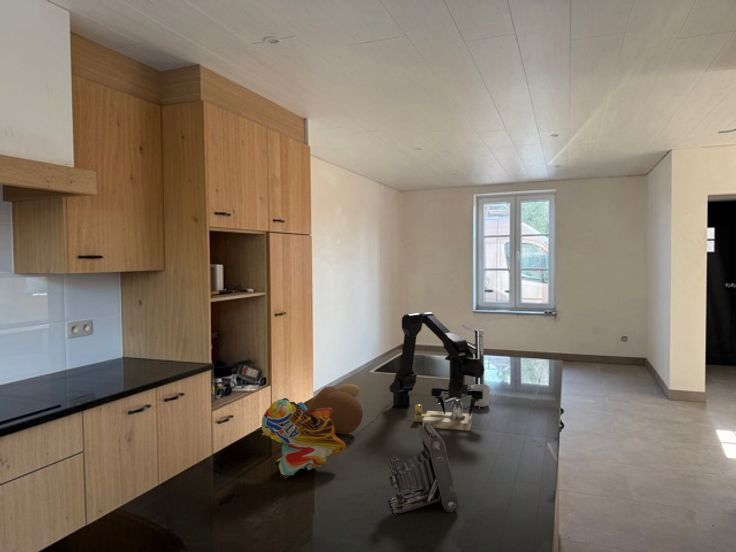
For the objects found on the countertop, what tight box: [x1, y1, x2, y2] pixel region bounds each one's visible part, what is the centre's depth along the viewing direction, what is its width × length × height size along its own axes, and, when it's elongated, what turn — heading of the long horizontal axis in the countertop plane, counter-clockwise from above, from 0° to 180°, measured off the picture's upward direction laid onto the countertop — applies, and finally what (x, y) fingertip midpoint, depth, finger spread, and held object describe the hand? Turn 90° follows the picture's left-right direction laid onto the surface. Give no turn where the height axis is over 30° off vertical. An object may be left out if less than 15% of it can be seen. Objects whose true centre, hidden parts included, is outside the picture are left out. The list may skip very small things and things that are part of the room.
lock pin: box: [413, 403, 431, 423], centre depth 193 cm, size 6×3×6 cm, turn 74°
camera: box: [388, 423, 460, 514], centre depth 127 cm, size 11×17×20 cm, turn 95°
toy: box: [307, 383, 364, 435], centre depth 182 cm, size 24×16×20 cm
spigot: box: [451, 398, 464, 420], centre depth 190 cm, size 4×4×9 cm
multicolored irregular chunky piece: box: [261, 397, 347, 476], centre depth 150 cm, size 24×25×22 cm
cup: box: [470, 383, 491, 408], centre depth 213 cm, size 11×8×8 cm
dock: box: [422, 410, 473, 431], centre depth 191 cm, size 17×12×2 cm
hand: (457, 415), depth 190 cm, fingers open, 9 cm apart
